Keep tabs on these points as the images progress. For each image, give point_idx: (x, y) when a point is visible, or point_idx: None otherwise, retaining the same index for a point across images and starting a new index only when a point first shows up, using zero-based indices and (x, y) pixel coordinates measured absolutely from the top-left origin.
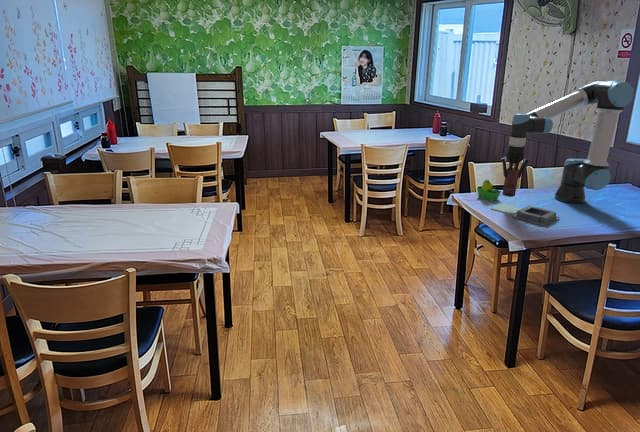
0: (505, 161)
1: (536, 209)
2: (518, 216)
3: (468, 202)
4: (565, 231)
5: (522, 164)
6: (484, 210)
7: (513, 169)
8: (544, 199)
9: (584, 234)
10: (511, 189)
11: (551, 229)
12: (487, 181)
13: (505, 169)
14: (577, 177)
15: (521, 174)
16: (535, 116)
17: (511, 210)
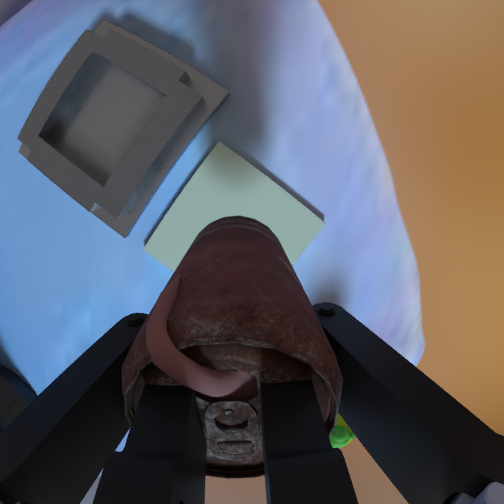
0: (493, 483)
1: (86, 172)
2: (197, 88)
3: (400, 306)
4: (54, 10)
5: (46, 480)
6: (358, 193)
7: (218, 433)
8: None
9: (14, 17)
10: (229, 226)
11: (94, 5)
12: (342, 432)
13: (389, 370)
14: None
15: (98, 339)
16: None
17: (214, 202)
